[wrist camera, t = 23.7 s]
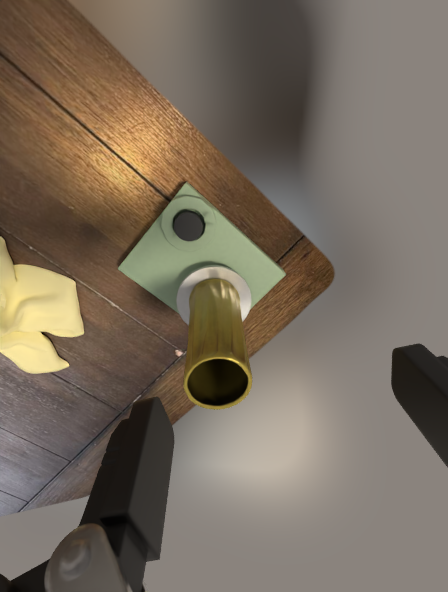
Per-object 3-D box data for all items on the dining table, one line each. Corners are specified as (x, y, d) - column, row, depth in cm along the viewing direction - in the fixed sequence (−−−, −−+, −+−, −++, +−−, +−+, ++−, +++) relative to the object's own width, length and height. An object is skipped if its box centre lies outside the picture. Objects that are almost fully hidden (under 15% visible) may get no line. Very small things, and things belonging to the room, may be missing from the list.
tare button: (169, 225, 32) (168, 228, 30) (187, 204, 31) (186, 206, 30) (191, 243, 33) (190, 247, 31) (208, 223, 32) (208, 226, 30)
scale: (121, 263, 37) (113, 273, 33) (187, 181, 33) (184, 183, 30) (216, 334, 42) (217, 348, 38) (282, 269, 38) (289, 279, 35)
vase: (184, 318, 36) (170, 408, 23) (194, 272, 33) (185, 344, 20) (232, 327, 36) (246, 419, 24) (245, 283, 34) (268, 358, 21)
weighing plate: (161, 303, 35) (160, 305, 35) (210, 249, 33) (210, 250, 32) (217, 343, 38) (217, 346, 38) (266, 296, 36) (266, 298, 35)
